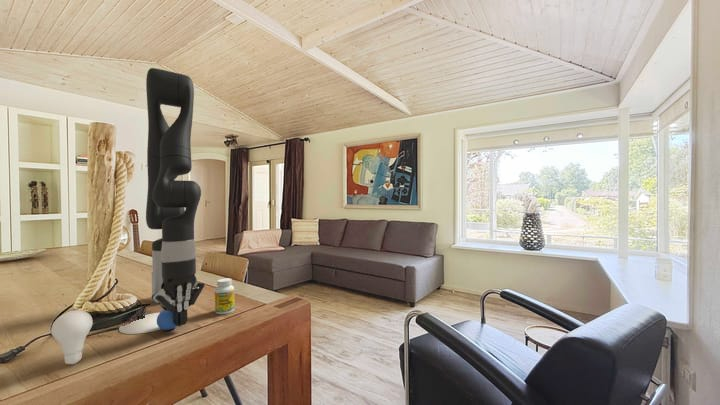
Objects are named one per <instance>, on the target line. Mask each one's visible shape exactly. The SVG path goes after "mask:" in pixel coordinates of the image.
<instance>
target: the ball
mask: <svg viewBox="0 0 720 405" xmlns="http://www.w3.org/2000/svg"><path fill="white" fill-rule="evenodd" d="M157 325H158V327H159V328H161V329H160V330H162V331H163V330H164V331H169V330H173V329H175V328H177V326H176V325H175V324H174V323H173V312H170V311H165V310H164V309H163V310H162V311H161V312H160V314H159V315H158V317H157Z"/></svg>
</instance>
